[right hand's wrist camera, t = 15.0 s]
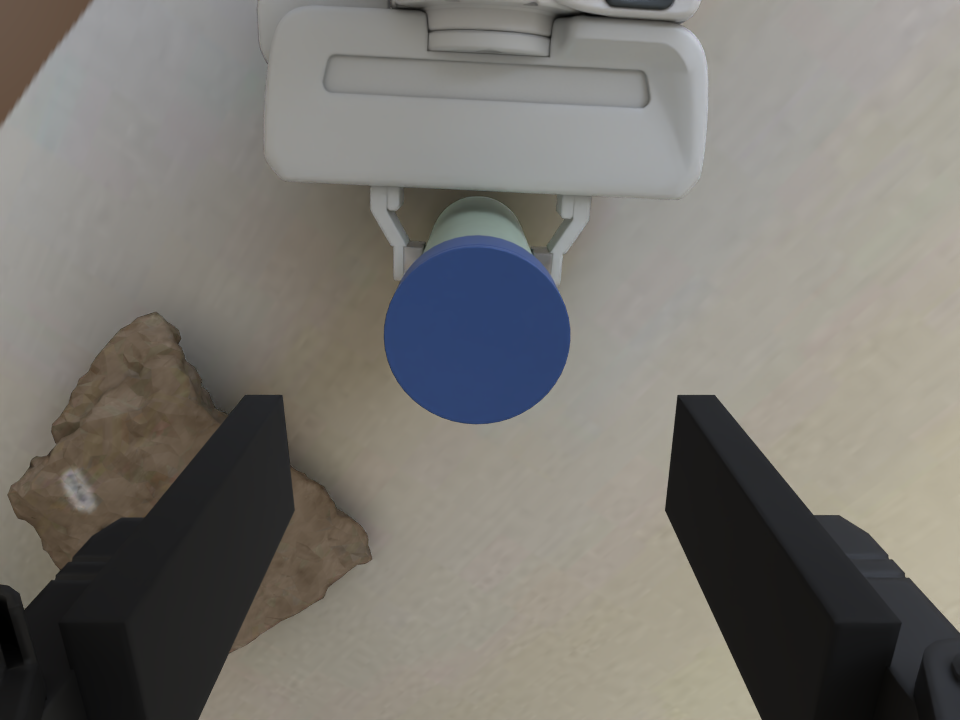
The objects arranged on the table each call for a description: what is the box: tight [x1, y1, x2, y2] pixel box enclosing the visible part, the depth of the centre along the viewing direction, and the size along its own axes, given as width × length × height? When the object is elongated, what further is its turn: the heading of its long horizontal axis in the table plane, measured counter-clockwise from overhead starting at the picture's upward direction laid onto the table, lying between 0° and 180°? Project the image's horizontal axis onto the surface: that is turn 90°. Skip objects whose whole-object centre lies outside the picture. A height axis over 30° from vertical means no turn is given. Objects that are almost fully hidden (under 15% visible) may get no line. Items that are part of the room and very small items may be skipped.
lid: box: [384, 235, 570, 424], centre depth 24 cm, size 6×6×2 cm
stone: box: [8, 312, 372, 653], centre depth 42 cm, size 21×15×6 cm
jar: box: [423, 196, 532, 254], centre depth 32 cm, size 6×6×18 cm
